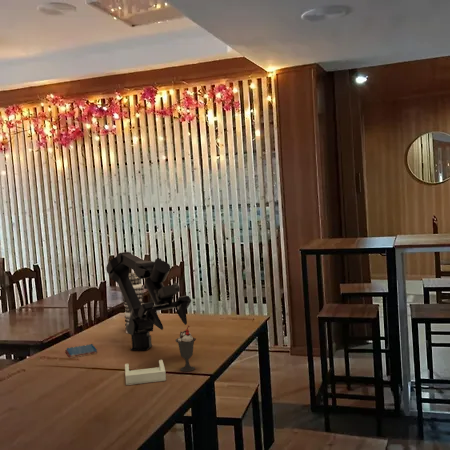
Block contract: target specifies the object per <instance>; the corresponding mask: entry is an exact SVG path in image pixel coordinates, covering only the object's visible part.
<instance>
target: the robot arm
mask: <svg viewBox="0 0 450 450" xmlns="http://www.w3.org/2000/svg"><path fill="white" fill-rule="evenodd" d="M105 270H106V273H107V274H108V276H109V278H110V279H111V280H112V281H113V282H116V283H117V285H118V287H119V289H120V292H121V294H123V296H124V297H123V296H122V297H123V298H124V299H125V301H126V303H127V305H128V308H129V310H130V318H129V321H130V322H129V324H128V327H127V330H126V331H127V332H128V335H130V336H131V348H130V351H148V350H149V349H150V348H152V347H153V344H152V335H150V334H151V332H154V326H155V327H157V328H158V329H159V330H161V331H163V330H164V326H163V323H162V321H161V319H160V317H159V315H158V311H163V310H164V311H166V310H170V309H175V311H177V312H176V314H177V315H178V317H179V318H180V320H181V322H182V323H183V324H184V325H185V326H186V325H187V324H188V319H187V310H188V308H189V306H190V305H191V302H192V299H191V297H190V296H189V295H182V296H178V298H177V300H176V301H173V300H174V296H175V295H177V294H178V293H179V292H180V291H181V288H180V285H179V283H178V282H174V283H172V284H171V285H164V283H163V282H165V281H166V280H167V278H168V275H169V273H170V271H171V265H170V264H169V263H168V262H167V261H165V260H162V259H161V258H155V260H154V261H153V260H144V259H142V258H139V257H138V256H136V255H134V254H132V253H131V252H129V251H123V252H119V253H117V254H116V256H115V257H113V258H111V259H110V260H109V262H108V263H107V264H106V269H105ZM131 270H133V271H135V272H134V273H135V275H136V276H137V277H138V278H139V279H141V280H144V279H145V281H144V285H143V289H144V290H147V291H148V294H149V296H150V298H149V300H150V301H149V302H144V303H143V304H142V305H141V303H140V301H139V298H138V296H137V294H136V292H135V290H134V288H133V285H132V283H131V281H130V279H129V273H131V272H130V271H131Z"/></svg>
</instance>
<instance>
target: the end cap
mask: <svg viewBox="0 0 450 450" xmlns="http://www.w3.org/2000/svg"><path fill="white" fill-rule="evenodd" d="M158 364H159V365H158V367H151V368H150V367H149V368H141V369H132V370H130V367H129V366H130V365H129V363H124V374H125V385H126V386H131V385H132V386H133V385H141V384H148V383H157V382H165V381H167V376H166V368H165V364H164V362H163V359H159V360H158Z"/></svg>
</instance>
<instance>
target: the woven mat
mask: <svg viewBox="0 0 450 450" xmlns="http://www.w3.org/2000/svg"><path fill="white" fill-rule="evenodd" d="M65 353H66V354H67V357H68V358H70V359H72V358H79V357H84V356H87V355H88V356H91V354H92V356H93V354H94V355H96V354H97V353H98V349H97V348H96V347H95V346H94V344H93V343H91V344H86V345H79V346H76V345H75V346H74V347H73V346H71V347H67V348H66V349H65Z"/></svg>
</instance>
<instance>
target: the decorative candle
mask: <svg viewBox="0 0 450 450" xmlns="http://www.w3.org/2000/svg"><path fill="white" fill-rule="evenodd" d="M129 279H130V281H131V283H132V285H133V288H134V290H135V292H136V294H137V296H138V298H139V301H140V303H141V305H142V304H143V303H145V301H144V300H143V299H144V298H145V297H144V294H145V293H144V292H142V291H144V290H145V289H144V285H143V283H142V279H139V278H138V277H137V276H136V275H135V272H129ZM121 294H122V293H121ZM122 297H123V299H122V300H123V306H124V307H125V311H124V322H125V323H124V325H125V327H124V328H125V333H126V334H128V332H127V327H128V324H129V322H130V321H129V318H130V310H129V308H128V305H127V303H126V301H125V299H124V296H123V294H122ZM128 335H129V334H128Z"/></svg>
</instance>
